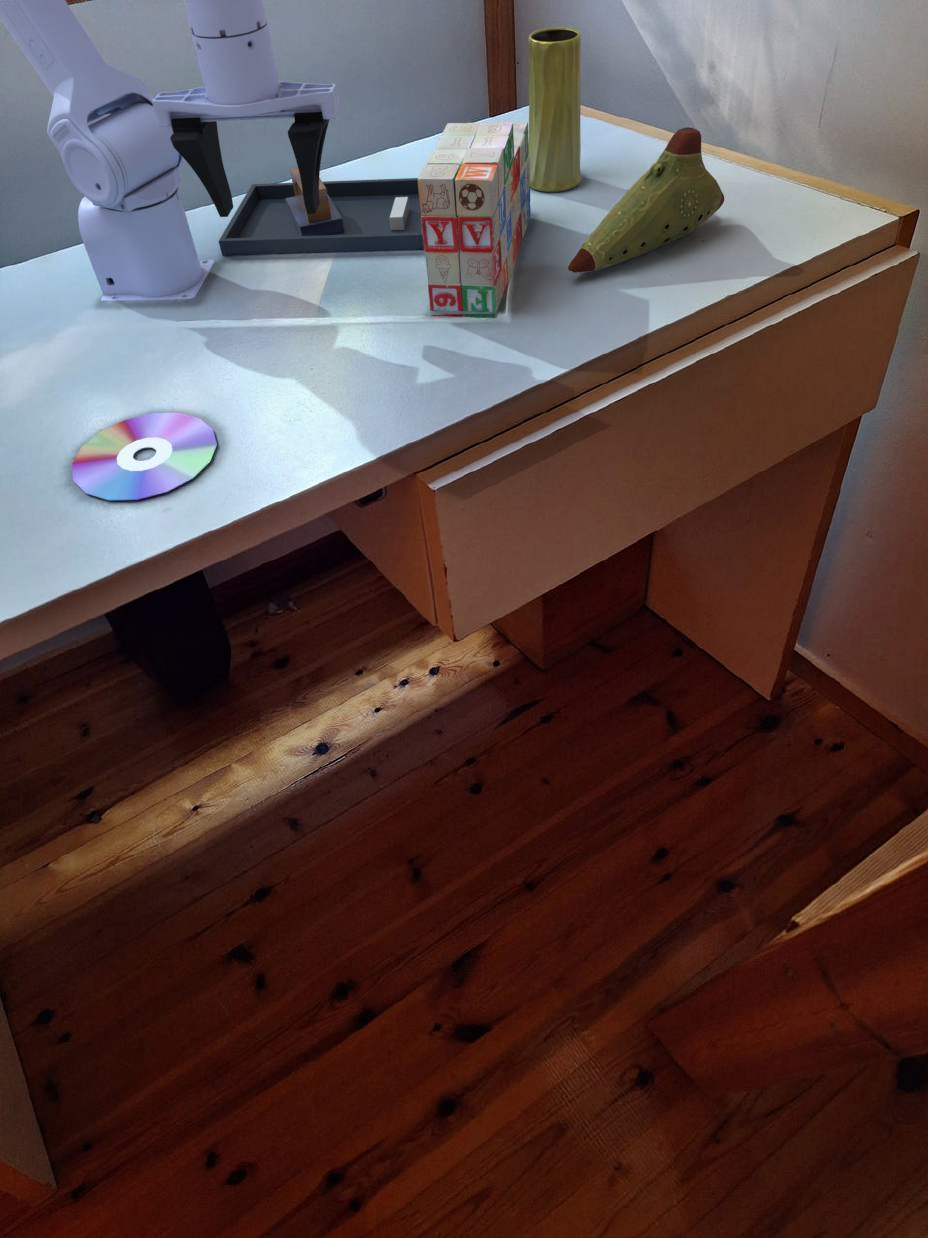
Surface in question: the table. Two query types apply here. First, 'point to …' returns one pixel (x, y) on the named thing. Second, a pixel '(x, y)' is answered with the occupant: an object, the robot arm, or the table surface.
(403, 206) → the chalk
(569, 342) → the table surface
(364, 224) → the tray
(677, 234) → the ocarina
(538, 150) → the vase
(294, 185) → the eraser
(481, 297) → the stack of blocks
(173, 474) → the cd
